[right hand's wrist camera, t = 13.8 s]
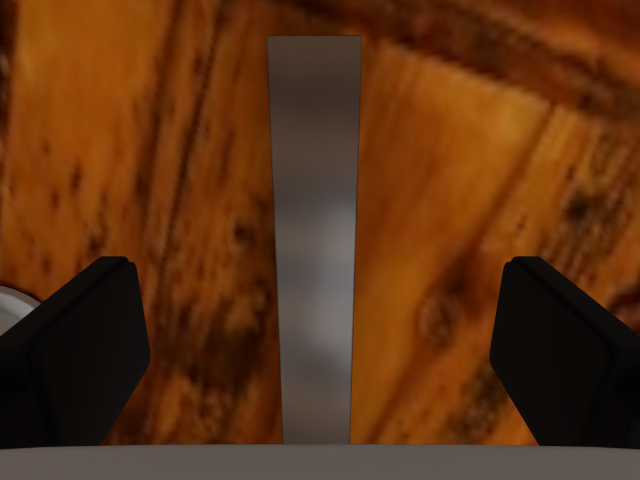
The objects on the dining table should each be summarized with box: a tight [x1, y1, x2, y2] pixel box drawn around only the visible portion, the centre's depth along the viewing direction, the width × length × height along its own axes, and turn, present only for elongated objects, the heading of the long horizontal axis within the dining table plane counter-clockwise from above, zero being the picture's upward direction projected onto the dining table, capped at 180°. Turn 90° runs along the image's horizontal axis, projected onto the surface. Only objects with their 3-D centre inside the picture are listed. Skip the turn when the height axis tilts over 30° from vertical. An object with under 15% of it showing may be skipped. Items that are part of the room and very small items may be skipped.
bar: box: [267, 35, 362, 444], centre depth 35 cm, size 61×5×8 cm, turn 0°
